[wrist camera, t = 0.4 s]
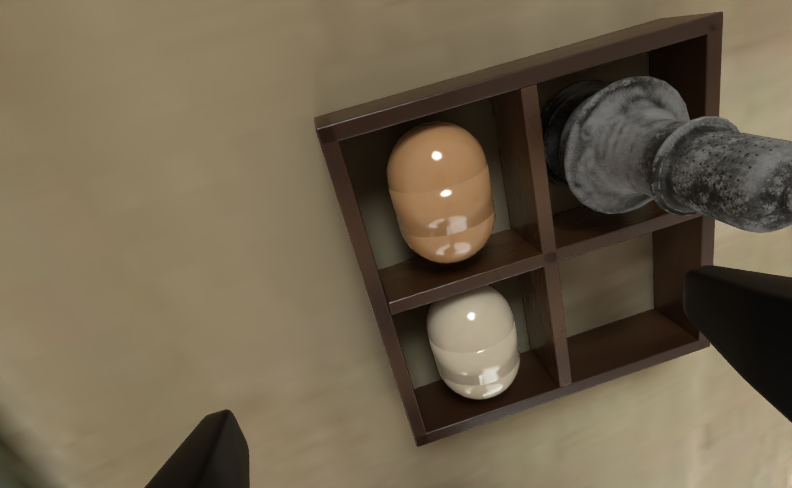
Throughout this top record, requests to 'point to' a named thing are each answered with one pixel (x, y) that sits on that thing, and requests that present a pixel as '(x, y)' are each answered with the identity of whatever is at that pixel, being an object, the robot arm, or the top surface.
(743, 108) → the top surface
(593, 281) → the top surface
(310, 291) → the top surface
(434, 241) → the brown egg
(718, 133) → the grey chess piece
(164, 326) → the top surface
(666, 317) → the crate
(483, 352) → the cream egg
